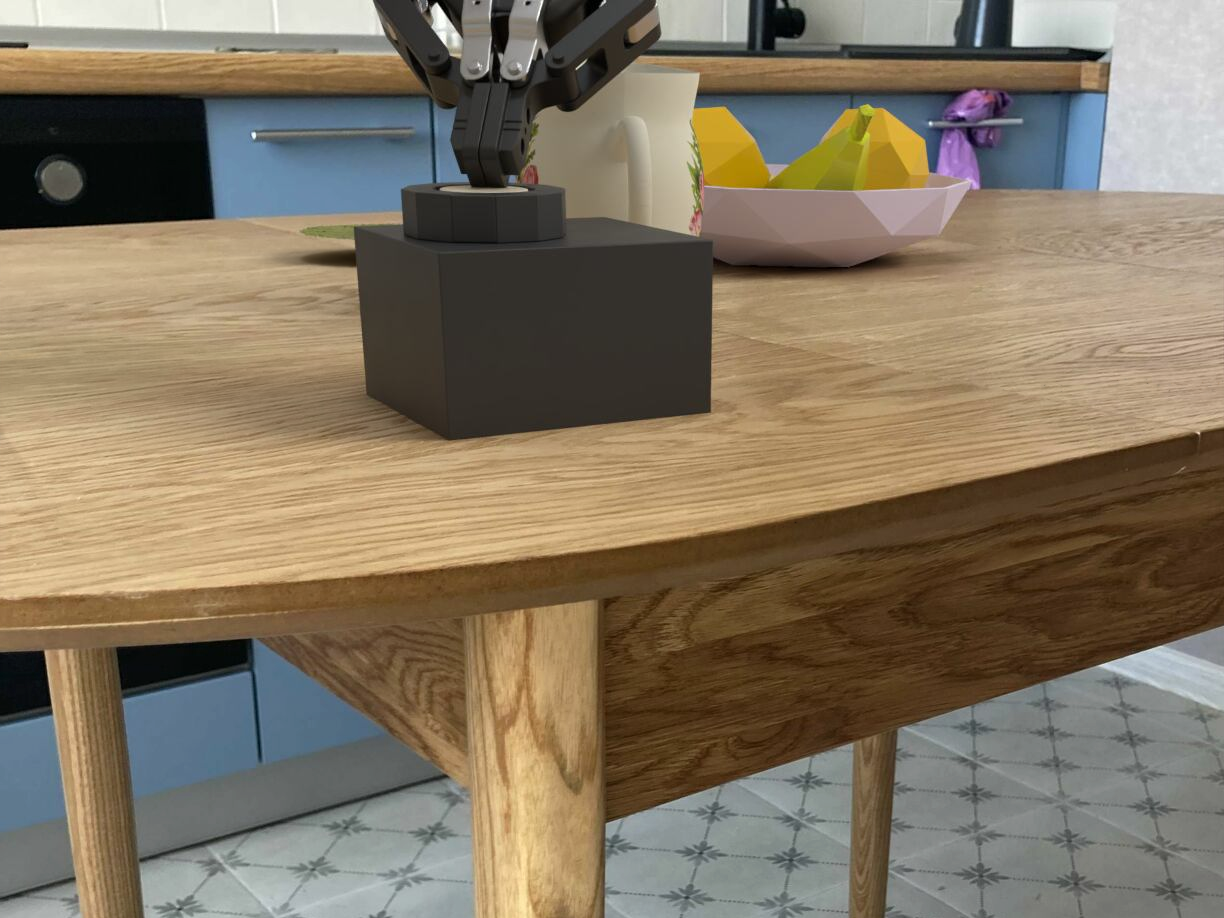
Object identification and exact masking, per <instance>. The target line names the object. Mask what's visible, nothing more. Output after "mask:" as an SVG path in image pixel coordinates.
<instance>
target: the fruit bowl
mask: <svg viewBox="0 0 1224 918" xmlns="http://www.w3.org/2000/svg"><path fill="white" fill-rule="evenodd" d="M692 124H693V128H694V131H695V134H696V138H697V141H698V144H699V149H700V153H701V157H702V163H703V170H704V205H703V216H702V223H701V229H700V234H699V237H702V238H707V239H712V240H713V259H716V260H719V261H722V262H723V263H726V264H728V265H731V266H750V265H757V266H756V267H788V266H793V267H792V268H795V267H796V268H826V267H848V268H850V266H851V267H854V266H856V265H859V264H861V263H865V262H868V261H870V260H873V259H875V258H879V257H881V256H885V255H887V254H891V253H893V252H896V251H898V250H901V249H904V248H907V247H909V246H913V245H916V244H918V243H920V242H924V241H926V240H930V239H932V238H936V237H938V236H940V234H941V233H942V231H943V230H944V229H945V226H946V225H947V223H948V221H949V220H950V218H951V217H952V216H953V214H954V212H955V210H956V209H957V208H958V206H959V204H960V203H961V201H962V199H963V198H964V196H965V195H966V193H967V192H968V190H969V188H970V187H971V186H972V184H973V182H974V180H972V179H965V178H962V177H961V178H960V177H955V176H950V175H946V174H939V173H935V172H930V169H929V162H928V153H927V145H926V139H924V137H922V136H920V135H919V134H918V133H916V132H915V131H914V130H913V129H911V128H910V127H909V126H907V125H906V124H904V122H903V121H901V120H899V119H898V118H897V117H896V116H894V115H893V113H890V112H889V111H888V110H886V108H884V107H872V105H870V104H868V103H867V104H863V105H860V106H859V107H858V108H846V109H845V110H844V111H843V112H842V114H841V115H840V116H839V117H838V118H837V119H836V121H835V122H834V123H833V124H832V125H831V127H830V128H829V129H828V130H827V131H826V132H825V134H824V135H823V136H822V137H821V139H820V141H819V143H818V145H816V146H815V147H813V148H812V149H811V150H809V151H807V152H806V153H804V154H803V155H801V156H800V157H798V158H797V159H795V160H793V161H792V162H791V163H789V164H779V163H777V164H776V163H766V162H765V158H764V157H763V154H762V152H761V150H760V148H759V145H758V143H757V140H756V139H755V138H754V136H753V135H752V134H751V133H750V132H749V131H748V129H746V127H745V126H743V124H742V123H741V122H740V121H739V120H738V119H737V118H736V117H735V116H734V115H733V114H732V112H731V111H730V110H728V109H727V107H726V106H711V107H699V108H694V110H693V118H692Z"/></svg>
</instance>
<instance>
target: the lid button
mask: <svg viewBox="0 0 1224 918" xmlns="http://www.w3.org/2000/svg"><path fill="white" fill-rule="evenodd" d="M439 191H451V192H467V193H505V192H524V191H528V189H526V188H522V187H514V186H508V187H507V188H489V187H488V188H487V187H471V185H465V186H449V187H443V188H440V190H439Z"/></svg>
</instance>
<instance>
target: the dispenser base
mask: <svg viewBox="0 0 1224 918" xmlns="http://www.w3.org/2000/svg"><path fill="white" fill-rule="evenodd" d="M465 185H470V183H469V181H459V182H458V181H457V182H455V181H454V182H453V181H451V182H432V183H431V182H430V183H421V184H420V183H419V184H410V185H407V186H405V187H403V188H400V197H401V198H400V199H401V213H402V223H399V224H400V225H373V226H355V227H354V238H355V240H354V249H355V250H354V251H355V263H356V274H357V286H358V287H357V289H358V290H357V291H358V301H359V302H358V304H359V312H360V313H359V314H360V326H361V327H360V328H361V341H362V353H363V366H364V379H365V391H366V395H367V396H368V397H369V398H372V399H373V400H374V401H377V402H379V403H381V404H383V405H384V406H386V407H387V408H390V409H391V410H393V411H395V412H397V413H399V414H401V415H402V416H404V417H406V418H407V419H409V420H411V421H413V422H414V423H416V424H419V425H420V426H422V427H424V428H425V429H427V430H429V431H431V432H433V433H434V434H436V435H437V436H439V437H442V438H443V439H445V440H447V441H451V442H452V441H461V440H470V439H480V438H489V437H496V436H505V435H506V436H509V435H516V434H517V435H518V434H525V433H526V434H527V433H534V432H544V431H545V432H546V431H553V430H563V429H571V428H581V427H591V426H601V425H611V424H618V423H627V422H628V423H629V422H636V421H637V422H638V421H648V420H657V419H665V418H674V417H683V416H693V415H702V414H711V413H712V362H713V361H712V360H713V359H712V357H713V356H712V353H713V351H712V349H713V347H712V346H713V289H714V288H713V286H714V284H713V283H714V282H713V280H714V279H713V278H714V276H713V275H714V268H713V267H714V257H713V240H712V239H707V238H702V237H698V236H693V235H688V234H683V233H679V232H674V231H669V230H664V229H660V228H655V227H650V226H645V225H640V224H636V223H631V222H626V221H621V220H617V219H612V218H607V217H590V218H566V198H565V189H564V188H561V187H555V186H550V185H541V184H526V183H515V182H509V183H508V186H514V187H522V188H526V189H528V191H524V192H505V193H467V192H451V191H439V190H440V188H443V187H449V186H465Z"/></svg>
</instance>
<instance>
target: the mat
mask: <svg viewBox="0 0 1224 918" xmlns="http://www.w3.org/2000/svg"><path fill="white" fill-rule="evenodd" d="M400 224H401V223H361V224H356V223H355V224H344V225H343V224H340V225H317V226H311V227H307V228H304V229H300V230H299V233H300V234H302V235H303V234H304V235H305V236H306V237H307V236H310V237H314V238H315V237H318V238H327V239H335V240H340V239H341V240H354V241H355V238H354V227H355V226H373V225H400Z"/></svg>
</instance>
